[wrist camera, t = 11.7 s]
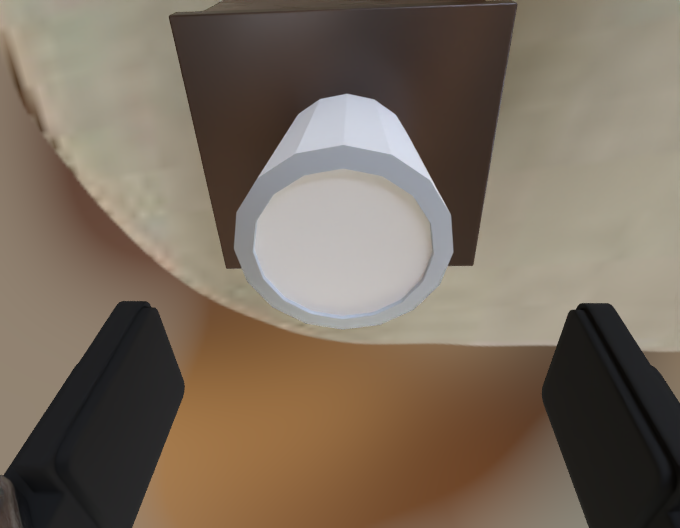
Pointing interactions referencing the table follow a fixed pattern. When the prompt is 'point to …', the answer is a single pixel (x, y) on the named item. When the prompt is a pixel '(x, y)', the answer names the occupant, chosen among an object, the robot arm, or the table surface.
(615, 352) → the robot arm
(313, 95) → the brown block with crank
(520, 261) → the table surface
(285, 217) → the white cup
